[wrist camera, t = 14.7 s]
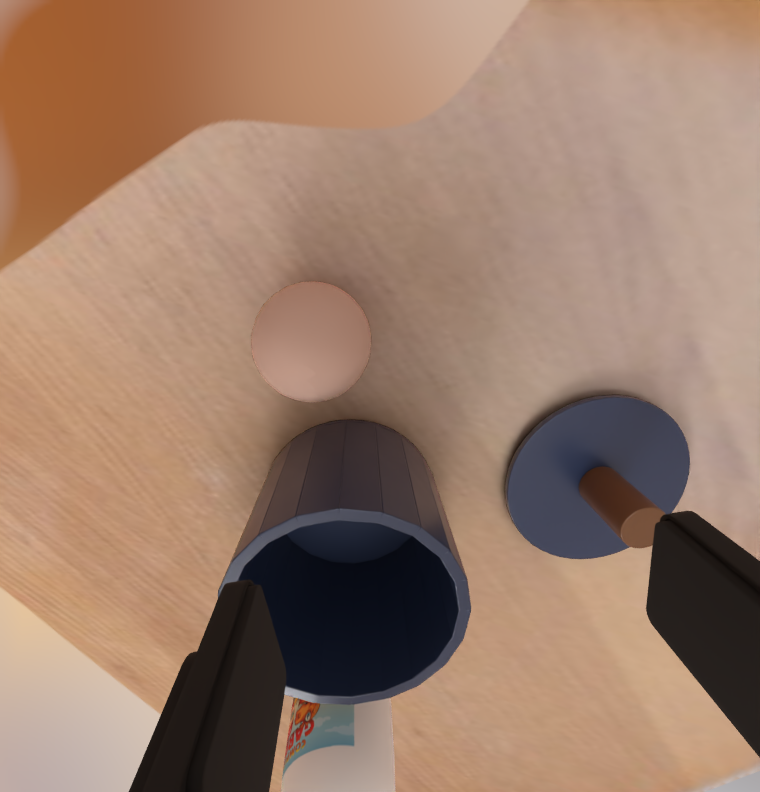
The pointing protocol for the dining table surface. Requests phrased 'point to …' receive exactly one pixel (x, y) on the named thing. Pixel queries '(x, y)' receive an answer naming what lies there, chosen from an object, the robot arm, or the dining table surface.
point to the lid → (597, 477)
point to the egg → (311, 341)
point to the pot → (355, 564)
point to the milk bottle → (339, 748)
